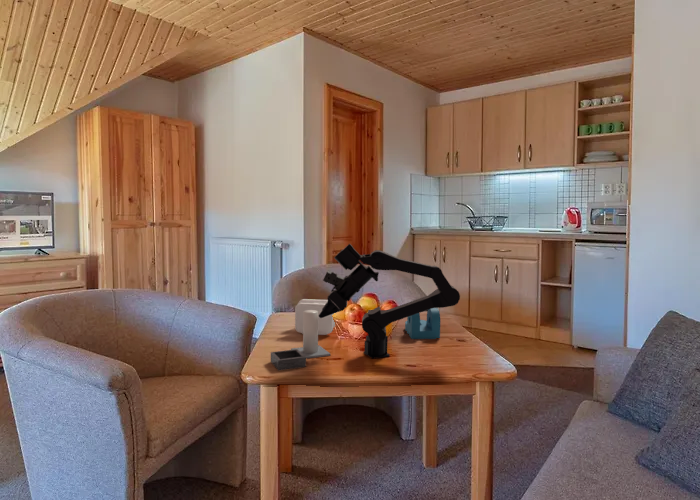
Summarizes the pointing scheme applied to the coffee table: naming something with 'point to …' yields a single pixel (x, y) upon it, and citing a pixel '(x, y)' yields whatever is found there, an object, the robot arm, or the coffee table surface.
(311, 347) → the white plug
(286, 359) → the grey square tray
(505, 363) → the coffee table surface
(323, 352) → the slate mat
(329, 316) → the cable organizer
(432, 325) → the camera mount
